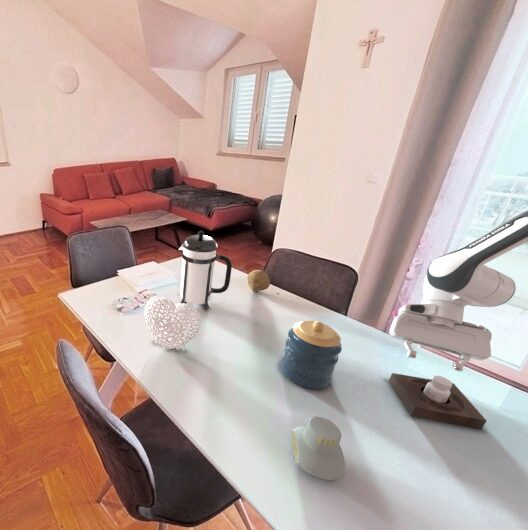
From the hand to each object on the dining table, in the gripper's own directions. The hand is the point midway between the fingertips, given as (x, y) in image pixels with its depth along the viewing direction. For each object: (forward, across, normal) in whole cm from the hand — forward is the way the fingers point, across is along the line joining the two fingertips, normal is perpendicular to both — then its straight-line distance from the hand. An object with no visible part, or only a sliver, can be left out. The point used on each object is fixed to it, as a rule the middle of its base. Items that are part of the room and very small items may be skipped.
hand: (433, 363), depth 85 cm
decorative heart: (+22, +67, +13) cm, 71 cm away
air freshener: (+35, +24, +25) cm, 49 cm away
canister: (+15, +29, +6) cm, 33 cm away
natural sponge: (-16, +51, -25) cm, 59 cm away
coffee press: (-1, +70, -10) cm, 71 cm away
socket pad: (+11, 0, +2) cm, 11 cm away
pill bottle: (+11, 0, +2) cm, 11 cm away
